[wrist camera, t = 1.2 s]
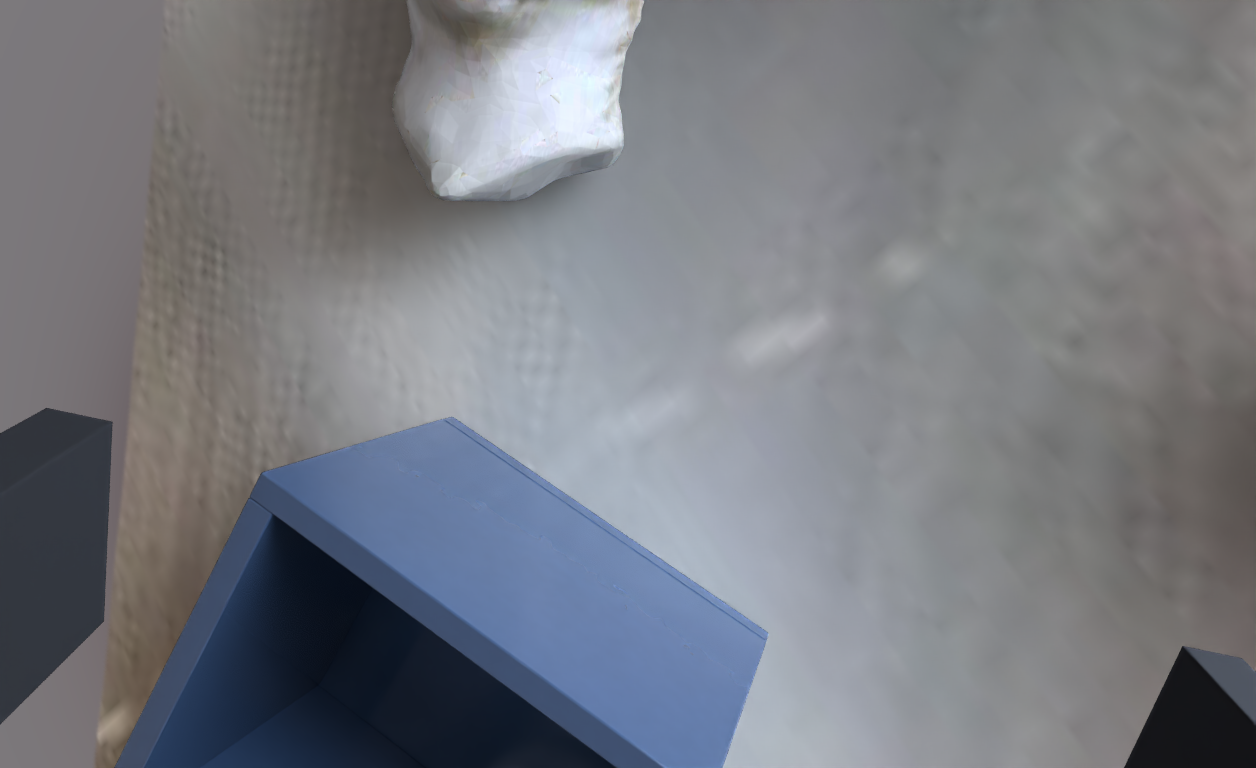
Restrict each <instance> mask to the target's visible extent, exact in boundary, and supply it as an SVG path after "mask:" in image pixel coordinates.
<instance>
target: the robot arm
mask: <svg viewBox="0 0 1256 768" xmlns="http://www.w3.org/2000/svg"><path fill="white" fill-rule="evenodd" d="M111 442H112V422H111V421H106V420H101V419H97V418H92V417H87V416H83V415H77V414H73V413H68V412H63V411H58V410H54V409H49V408H46V409H44V410H42V411H40V412H38V413H37V414H35V415H33V416H31V417H29V418H28V419H26V420H24V421H22V422H20V423H18V424H17V425H15V426H13V427H11V428H10V429H7V430H6V431H4V432H2V433H0V724H1V723H2V722H3V721H4V720H5V719H6V718H7V717H8V716H9V715H10V714H11V713H12V712H13V711H14V710H15V709H16V708H17V707H18V706H19V705H20V704H21V703H22V702H23V701H24V700H25V699H26V698H27V697H28V696H29V695H30V694H31V693H32V692H33V691H34V690H35V689H36V688H37V687H38V686H39V685H40V684H41V683H42V682H43V681H44V680H45V679H46V678H47V677H48V676H49V675H50V674H51V673H52V672H53V671H54V670H55V669H56V668H57V667H58V666H59V665H60V664H61V663H62V662H63V661H64V660H65V659H66V658H67V657H68V656H69V655H70V654H71V653H72V652H73V651H74V650H75V649H76V648H77V647H78V646H80V645H81V643H83V641H85V640H86V639H87V638H88V636H90V634H92V633H93V632H94V630H96V628H98V627H99V626H100V625H101V624H102V623H103V622H104V606H105V581H106V559H107V536H108V512H109V489H110V465H111ZM1124 768H1256V672H1255V671H1254V670H1253V669H1252V668H1251V667H1250V666H1249V665H1248V664H1247V663H1246V662H1245V661H1244V660H1243V659H1242V658H1238V657H1233V656H1228V655H1223V654H1219V653H1214V652H1209V651H1204V650H1199V649H1195V648H1190V647H1185V646H1182V648H1181V650H1180V652H1179V655H1178V657H1177V659H1176V661H1175V663H1174V665H1173V667H1172V669H1171V671H1170V673H1169V675H1168V677H1167V680H1166V682H1165V684H1164V686H1163V688H1162V690H1161V692H1160V694H1159V696H1158V698H1157V700H1156V702H1155V705H1154V707H1153V709H1152V711H1151V713H1150V715H1149V717H1148V719H1147V721H1146V723H1145V725H1144V727H1143V729H1142V732H1141V734H1140V736H1139V738H1138V740H1137V742H1136V744H1135V746H1134V748H1133V750H1132V752H1131V754H1130V757H1129V759H1128V761H1127V763H1126V765H1125V767H1124Z"/></svg>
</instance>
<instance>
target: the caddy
mask: <svg viewBox="0 0 1256 768" xmlns="http://www.w3.org/2000/svg"><path fill="white" fill-rule="evenodd" d="M767 638H768V632H766V631H765V630H764V629H762V628H761V627H759V626H758V625H756V624H755V623H753V622H752V621H750V620H749V619H747V618H746V617H745V616H743V615H742V614H740V613H739V612H737V611H736V610H734V609H733V608H731V607H730V606H728V605H727V604H726V603H724V602H723V601H721V600H720V599H718V598H717V597H715V596H714V595H712V594H711V593H709V592H708V591H707V590H705V589H704V588H702V587H701V586H699V585H698V584H696V583H695V582H693V581H692V580H690V579H689V578H688V577H686V576H685V575H683V574H682V573H680V572H679V571H677V570H676V569H674V568H673V567H671V566H670V565H669V564H667V563H666V562H664V561H663V560H661V559H660V558H658V557H657V556H655V555H654V554H652V553H651V552H650V551H648V550H647V549H645V548H644V547H642V546H641V545H639V544H638V543H636V542H635V541H633V540H632V539H631V538H629V537H628V536H626V535H625V534H623V533H622V532H620V531H619V530H617V529H616V528H614V527H613V526H612V525H610V524H609V523H607V522H606V521H604V520H603V519H601V518H600V517H598V516H597V515H595V514H594V513H593V512H591V511H590V510H588V509H587V508H585V507H584V506H582V505H581V504H579V503H578V502H576V501H575V500H574V499H572V498H571V497H569V496H568V495H566V494H565V493H563V492H562V491H560V490H559V489H557V488H556V487H555V486H553V485H552V484H550V483H549V482H547V481H546V480H544V479H543V478H541V477H540V476H538V475H537V474H536V473H534V472H533V471H531V470H530V469H528V468H527V467H525V466H524V465H522V464H521V463H520V462H518V461H517V460H515V459H514V458H512V457H511V456H509V455H508V454H506V453H505V452H503V451H502V450H501V449H499V448H498V447H496V446H495V445H493V444H492V443H490V442H489V441H487V440H486V439H484V438H483V437H482V436H480V435H479V434H477V433H476V432H474V431H473V430H471V429H470V428H468V427H467V426H465V425H464V424H463V423H461V422H460V421H458V420H457V419H455V418H454V417H449V418H445V419H443V420H442V419H441V420H437V421H434V422H431V423H427V424H424V425H421V426H417V427H414V428H410V429H407V430H404V431H400V432H397V433H393V434H390V435H387V436H383V437H380V438H376V439H373V440H370V441H366V442H363V443H359V444H356V445H353V446H349V447H346V448H342V449H339V450H336V451H332V452H329V453H325V454H322V455H319V456H315V457H312V458H309V459H305V460H302V461H298V462H295V463H292V464H288V465H285V466H281V467H278V468H275V469H271V470H268V471H264V472H262V473H261V474H260V476H259V478H258V480H257V482H256V484H255V487H254V489H253V491H252V493H251V495H250V498H249V499H248V500H247V502H246V504H245V506H244V508H243V510H242V512H241V514H240V516H239V518H238V520H237V522H236V524H235V526H234V528H233V530H232V532H231V534H230V536H229V538H228V540H227V542H226V545H225V547H224V549H223V551H222V553H221V555H220V557H219V559H218V561H217V563H216V565H215V567H214V569H213V571H212V573H211V575H210V577H209V579H208V581H207V583H206V585H205V587H204V589H203V591H202V593H201V595H200V597H199V599H198V601H197V603H196V605H195V607H194V609H193V611H192V613H191V615H190V617H189V619H188V621H187V623H186V625H185V627H184V629H183V631H182V633H181V635H180V637H179V639H178V641H177V643H176V645H175V647H174V649H173V651H172V653H171V655H170V657H169V659H168V661H167V663H166V665H165V667H164V669H163V671H162V673H161V675H160V677H159V679H158V681H157V683H156V685H155V687H154V689H153V691H152V693H151V695H150V697H149V699H148V701H147V703H146V705H145V707H144V709H143V711H142V713H141V715H140V717H139V719H138V721H137V723H136V725H135V727H134V729H133V731H132V733H131V735H130V737H129V739H128V741H127V743H126V745H125V747H124V749H123V751H122V753H121V755H120V757H119V759H118V761H117V763H116V765H115V767H114V768H723V765H724V762H725V760H726V757H727V754H728V751H729V748H730V745H731V742H732V739H733V736H734V734H735V731H736V728H737V725H738V722H739V719H740V716H741V713H742V711H743V708H744V705H745V702H746V699H747V696H748V693H749V690H750V687H751V685H752V682H753V679H754V676H755V673H756V670H757V667H758V664H759V662H760V659H761V656H762V653H763V650H764V647H765V644H766V641H767Z"/></svg>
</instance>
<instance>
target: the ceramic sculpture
mask: <svg viewBox="0 0 1256 768" xmlns="http://www.w3.org/2000/svg"><path fill="white" fill-rule="evenodd" d="M406 3H407V7H408V11H409V21H410V31H411V38H412V47H411V51H410V54H409V56H408V58H407V60H406V62H405V65H404V68H403V72H402V75H401V78H400V80H399V82H398V83H397V84H396V87H395V94H394V96H393V101H392V108H393V117H394V121H395V123H396V126H397V128H398V131H399V133H400V135H401V136H402V138H403V140H404V142H405V145H406V147H407V150H408V152H409V154H410V156H411V159H412V161H413V163H414V165H415V167H416V168H417V170H418V171H419V173H420V174H421V175H422V177H423V178H424V180H425V182H426V185H427V188H428V190H429V192H430V193H431V194H432V195H433V196H434V197H436V198H439V199H441V200H450V201H458V200H465V201H513V200H521V199H524V198H527V197H529V196H531V195H532V194H534V193H535V192H537V191H538V190H540V189H541V188H543V187H545V186H546V185H548V184H549V183H551V182H553V181H555V180H557V179H560V178H564V177H568V176H572V175H576V174H580V173H585V172H589V171H594V170H598V169H603V168H607V167H609V166H611V165H613V163H614V162H615V161H616V160H617V159H618V157H619V156H620V154H621V151H622V149H623V147H624V143H623V141H624V132H623V128H622V113H621V109H620V105H619V94H620V89H621V82H622V72H623V67H624V62H625V55H626V52H627V49H628V47H629V45H630V44H631V42H632V39H633V33H634V31H635V29H636V27H637V26H638V24H639V23H640V21H641V9H642V7H643V4H644V0H406Z"/></svg>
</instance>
